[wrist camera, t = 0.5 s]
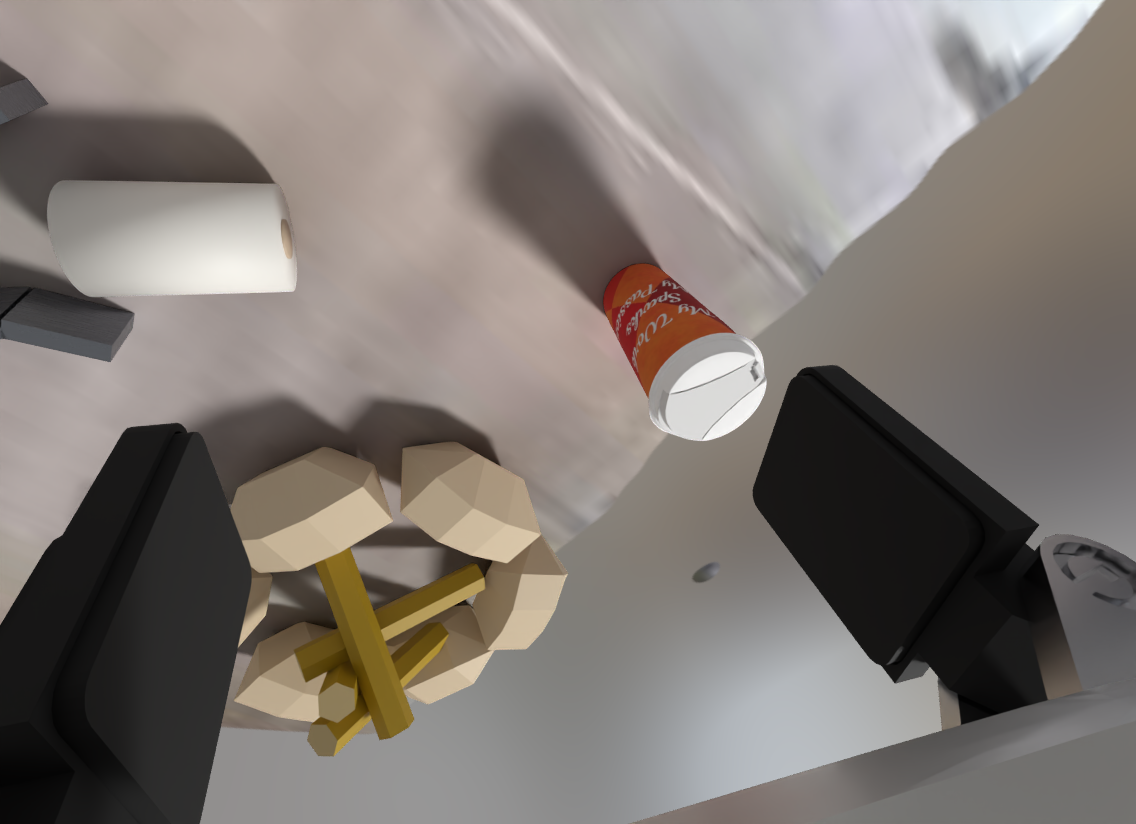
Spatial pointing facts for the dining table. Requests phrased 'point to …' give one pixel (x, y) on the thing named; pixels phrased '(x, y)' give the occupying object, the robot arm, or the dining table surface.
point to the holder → (47, 312)
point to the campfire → (407, 625)
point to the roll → (172, 237)
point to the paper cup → (683, 355)
